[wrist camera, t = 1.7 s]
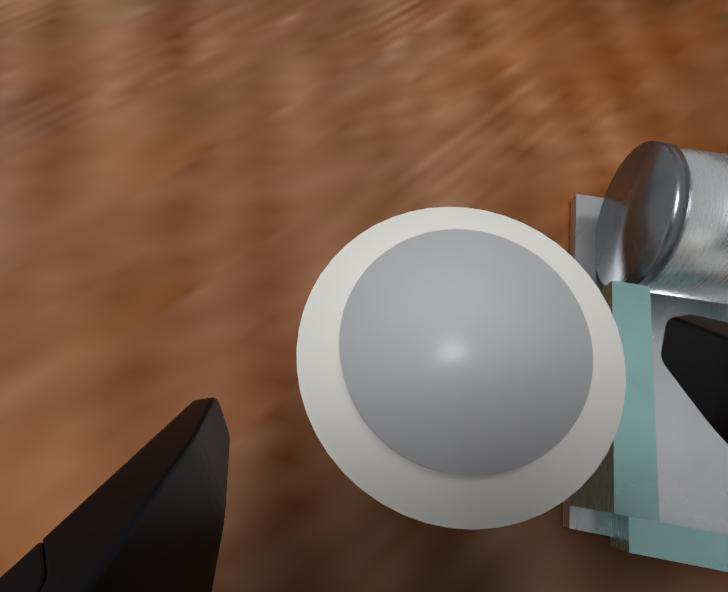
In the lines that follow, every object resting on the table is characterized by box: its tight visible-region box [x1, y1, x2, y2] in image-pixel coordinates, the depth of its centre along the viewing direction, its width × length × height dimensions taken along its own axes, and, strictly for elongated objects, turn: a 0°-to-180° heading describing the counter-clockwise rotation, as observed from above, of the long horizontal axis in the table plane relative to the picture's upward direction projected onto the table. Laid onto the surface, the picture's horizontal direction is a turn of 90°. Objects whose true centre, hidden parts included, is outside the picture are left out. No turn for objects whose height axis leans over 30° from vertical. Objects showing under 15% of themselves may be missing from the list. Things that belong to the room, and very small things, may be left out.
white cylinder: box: [297, 207, 626, 530], centre depth 12 cm, size 6×6×10 cm
